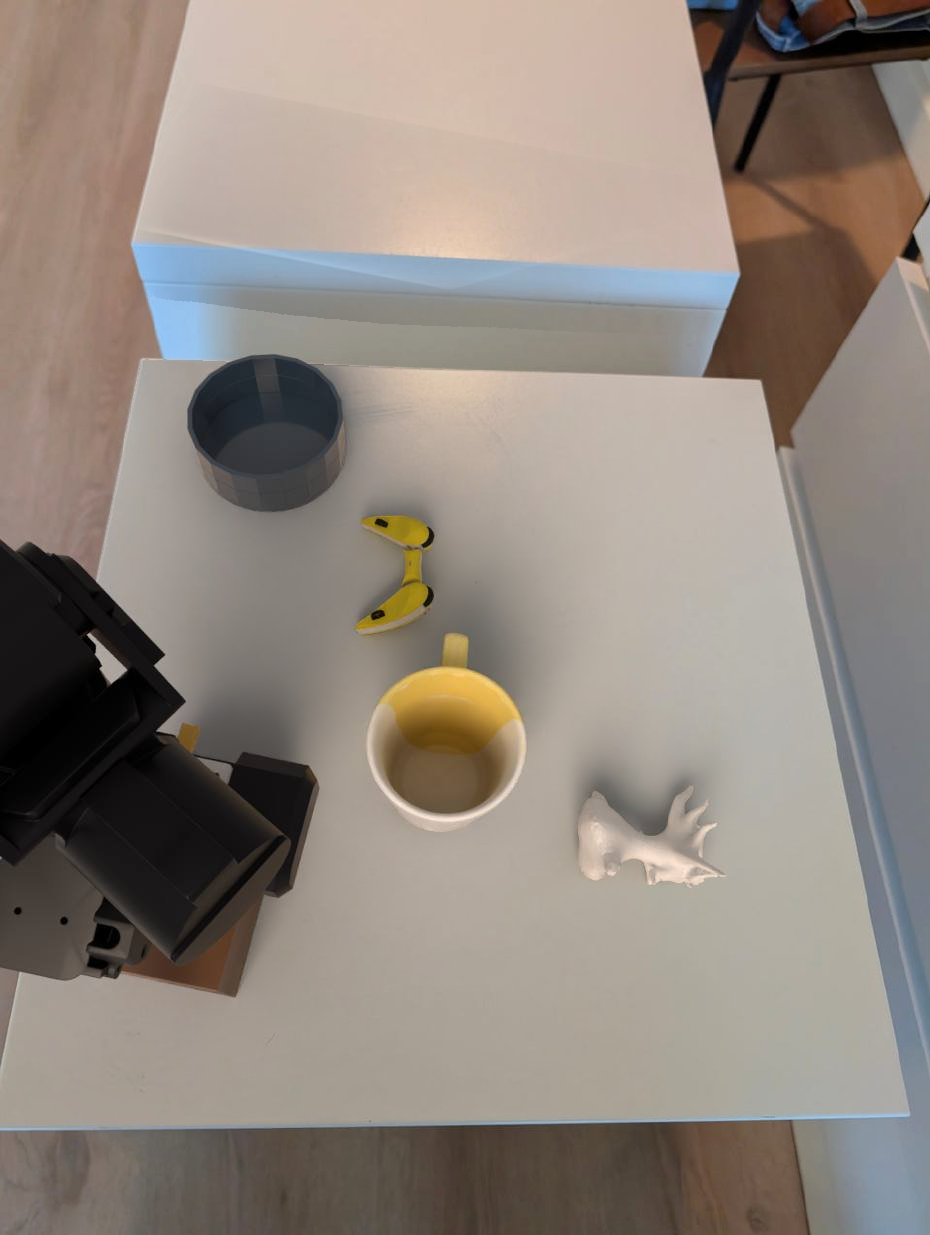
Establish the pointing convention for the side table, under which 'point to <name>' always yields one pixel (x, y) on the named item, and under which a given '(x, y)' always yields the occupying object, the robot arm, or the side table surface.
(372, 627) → the game controller
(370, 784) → the side table surface
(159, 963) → the stand
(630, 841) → the figurine
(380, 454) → the side table surface
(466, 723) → the mug
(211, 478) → the bowl
